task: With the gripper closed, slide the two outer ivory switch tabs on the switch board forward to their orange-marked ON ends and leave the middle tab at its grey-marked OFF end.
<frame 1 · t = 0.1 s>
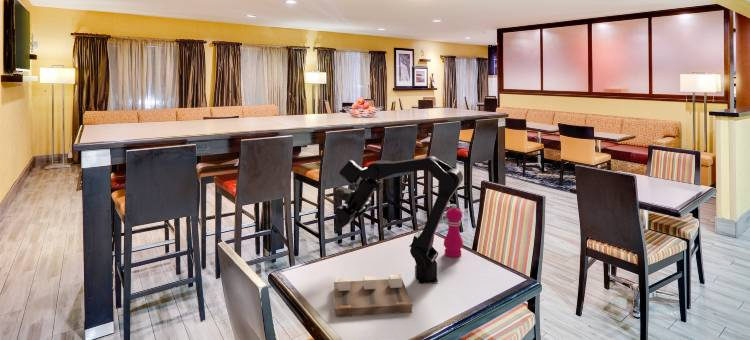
hand: (342, 226, 156), 15 cm above the table, tool tilted 30°, fingers open, 9 cm apart
tab 2: (369, 282, 135), point 4 cm above the table, slide at 0.0 cm
pepper mill: (452, 255, 168), on the table
switch board: (370, 300, 133), on the table
tab 3: (343, 283, 134), point 4 cm above the table, slide at 0.0 cm
tab 1: (395, 281, 136), point 4 cm above the table, slide at 0.0 cm
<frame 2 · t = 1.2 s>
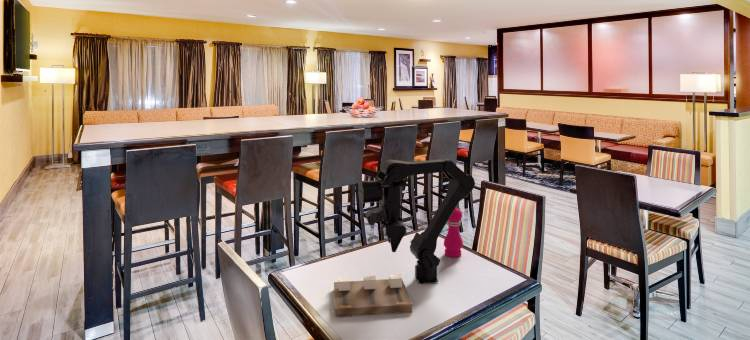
hand: (391, 247, 141), 13 cm above the table, tool pointing down, fingers open, 8 cm apart
nothing on the table moved.
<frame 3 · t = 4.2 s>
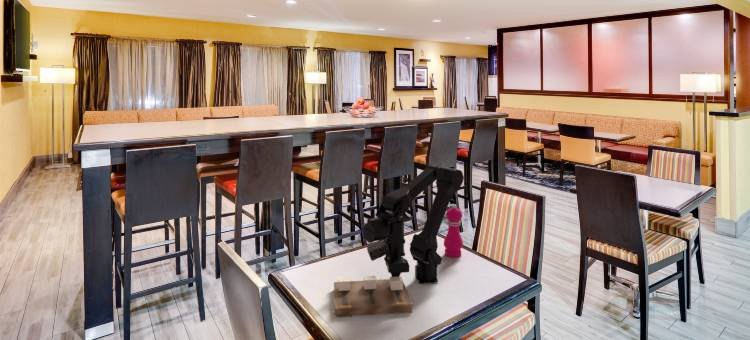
hand: (394, 282, 138), 3 cm above the table, tool pointing down, fingers closed
tab 1: (396, 283, 135), point 4 cm above the table, slide at 1.6 cm, touching gripper
everything else where it was.
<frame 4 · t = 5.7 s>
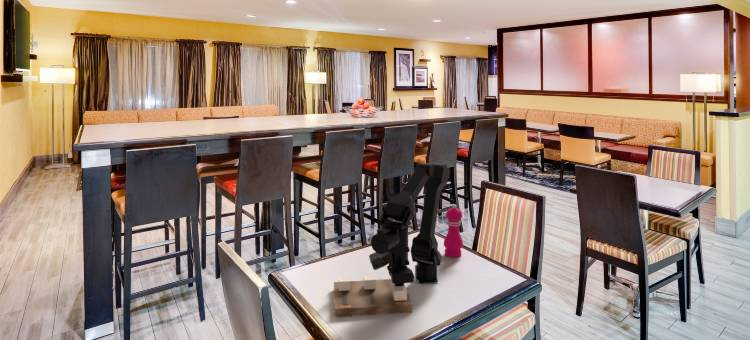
hand: (397, 291, 131), 3 cm above the table, tool pointing down, fingers closed
tab 1: (399, 293, 128), point 4 cm above the table, slide at 8.1 cm, touching gripper
everything else where it was.
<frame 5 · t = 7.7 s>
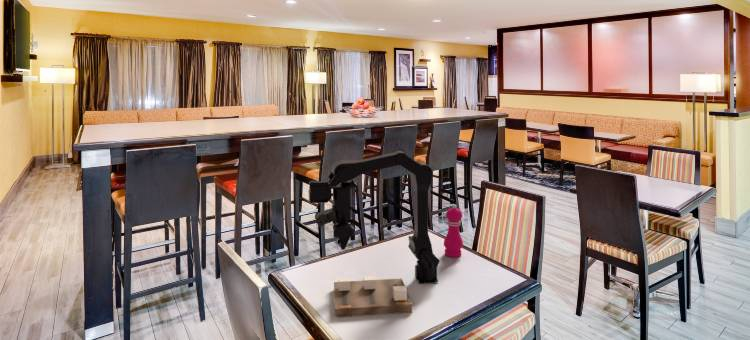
hand: (342, 249, 139), 13 cm above the table, tool pointing down, fingers closed
tab 1: (399, 293, 128), point 4 cm above the table, slide at 8.1 cm
everything else where it was.
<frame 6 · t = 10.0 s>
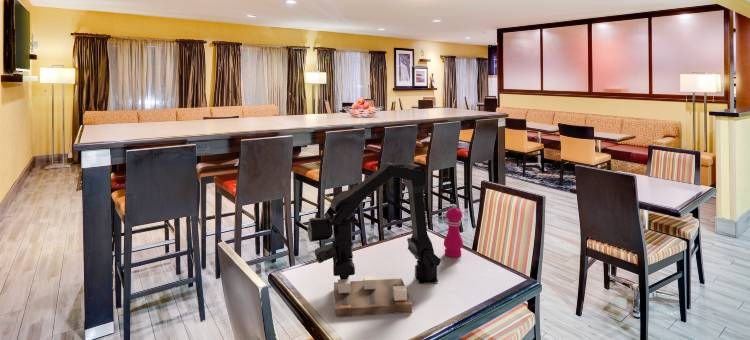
hand: (343, 284, 136), 3 cm above the table, tool pointing down, fingers closed
tab 3: (344, 286, 133), point 4 cm above the table, slide at 1.5 cm, touching gripper
everything else where it was.
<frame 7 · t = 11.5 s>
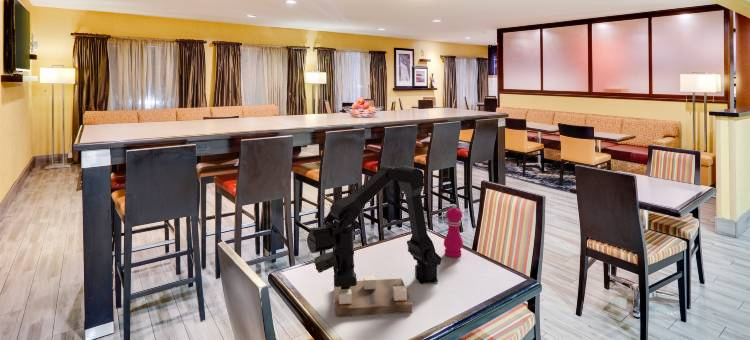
hand: (344, 294, 130), 3 cm above the table, tool pointing down, fingers closed
tab 3: (345, 296, 126), point 4 cm above the table, slide at 8.1 cm, touching gripper
everything else where it was.
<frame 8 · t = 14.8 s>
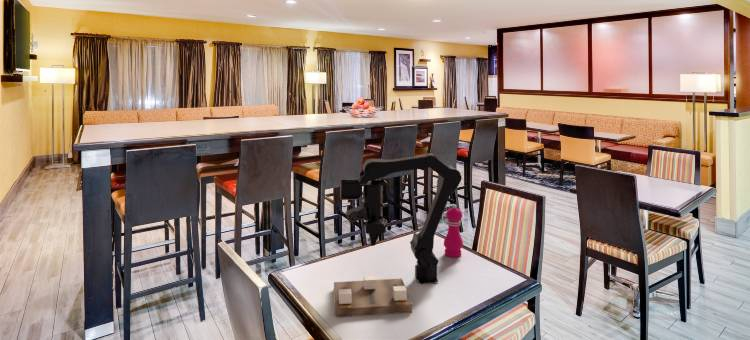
hand: (372, 245, 143), 13 cm above the table, tool pointing down, fingers closed
tab 3: (345, 296, 127), point 4 cm above the table, slide at 8.1 cm
everything else where it was.
at the end: tab 1 slide at 8.1 cm; tab 3 slide at 8.1 cm; tab 2 slide at 0.0 cm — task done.
